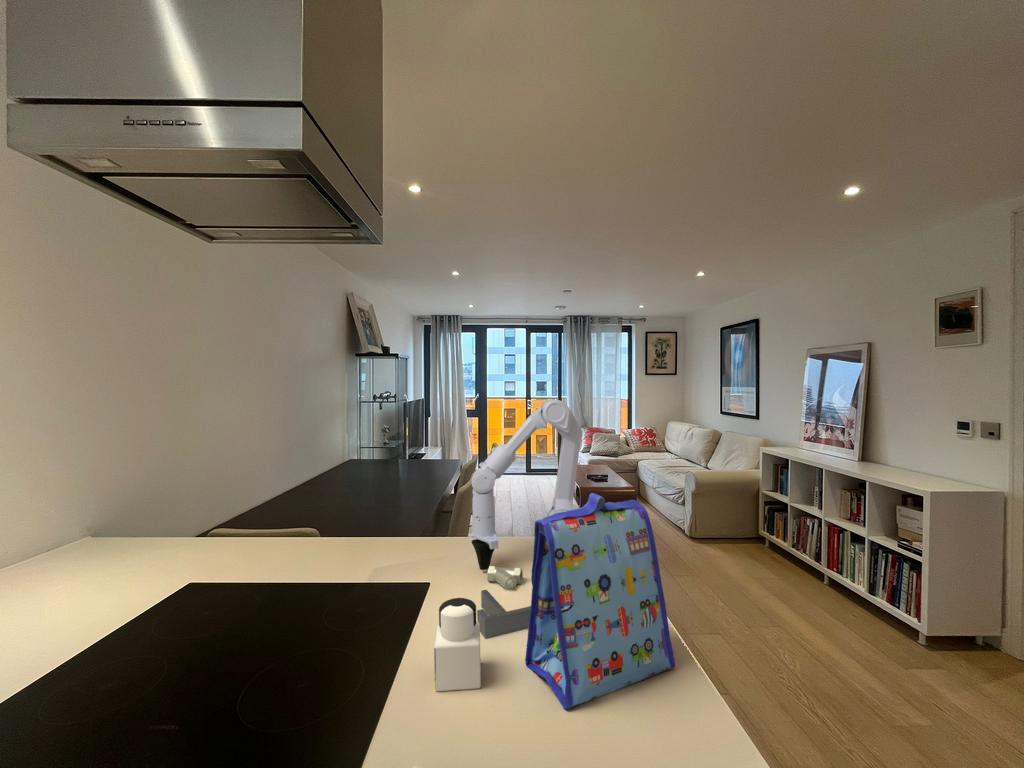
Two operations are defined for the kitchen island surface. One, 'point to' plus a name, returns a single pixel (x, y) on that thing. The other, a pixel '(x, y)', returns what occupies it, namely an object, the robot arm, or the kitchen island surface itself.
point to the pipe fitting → (505, 576)
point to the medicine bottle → (457, 646)
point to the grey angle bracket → (500, 617)
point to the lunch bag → (596, 601)
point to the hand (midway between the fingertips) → (484, 568)
